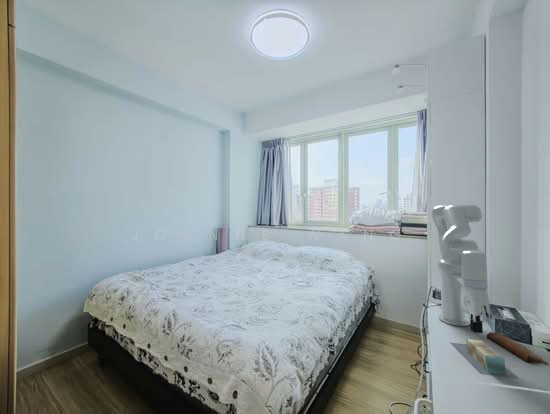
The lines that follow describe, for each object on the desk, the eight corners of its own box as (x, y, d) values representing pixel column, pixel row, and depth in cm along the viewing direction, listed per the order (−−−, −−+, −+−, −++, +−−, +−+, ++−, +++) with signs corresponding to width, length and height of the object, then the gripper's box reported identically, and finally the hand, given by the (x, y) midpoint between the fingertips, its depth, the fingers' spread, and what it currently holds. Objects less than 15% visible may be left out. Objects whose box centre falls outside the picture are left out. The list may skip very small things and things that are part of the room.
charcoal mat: (449, 343, 97) (449, 342, 97) (480, 347, 94) (480, 345, 94) (480, 375, 77) (480, 373, 77) (520, 380, 75) (519, 378, 75)
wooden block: (466, 338, 90) (487, 357, 78) (481, 340, 89) (504, 359, 77) (467, 352, 90) (487, 372, 78) (482, 353, 88) (505, 374, 77)
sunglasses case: (553, 365, 82) (542, 348, 83) (535, 375, 82) (524, 358, 83) (506, 339, 100) (497, 325, 101) (492, 347, 100) (483, 333, 101)
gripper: (452, 277, 97) (454, 322, 96) (475, 288, 82) (477, 340, 81) (473, 278, 95) (475, 324, 94) (500, 289, 80) (502, 343, 80)
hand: (476, 331), depth 88 cm, fingers closed
